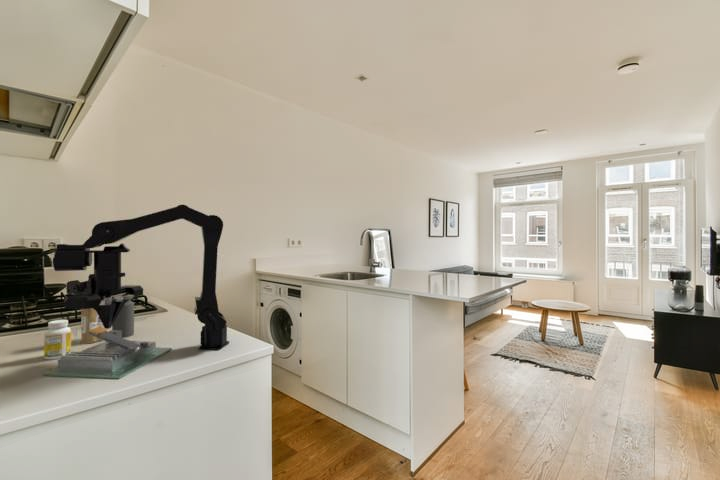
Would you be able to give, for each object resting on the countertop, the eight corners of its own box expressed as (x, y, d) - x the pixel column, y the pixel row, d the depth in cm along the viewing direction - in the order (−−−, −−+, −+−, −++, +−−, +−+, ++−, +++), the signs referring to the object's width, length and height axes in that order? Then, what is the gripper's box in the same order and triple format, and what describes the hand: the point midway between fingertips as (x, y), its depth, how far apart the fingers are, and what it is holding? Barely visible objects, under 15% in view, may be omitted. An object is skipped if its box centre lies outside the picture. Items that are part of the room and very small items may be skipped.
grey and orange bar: (143, 349, 87) (144, 345, 87) (134, 353, 83) (135, 349, 83) (98, 330, 87) (100, 326, 87) (88, 334, 84) (89, 330, 84)
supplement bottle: (51, 361, 85) (51, 325, 85) (39, 358, 87) (39, 322, 87) (75, 354, 90) (75, 320, 90) (63, 351, 92) (64, 318, 92)
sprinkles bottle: (98, 342, 100) (98, 299, 100) (79, 345, 98) (79, 300, 97) (100, 338, 104) (100, 296, 104) (81, 340, 101) (82, 298, 101)
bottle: (108, 336, 106) (108, 291, 106) (126, 331, 111) (126, 288, 111) (119, 339, 104) (119, 292, 103) (138, 334, 109) (138, 289, 109)
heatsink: (171, 350, 94) (171, 334, 94) (119, 378, 75) (119, 359, 75) (110, 347, 96) (110, 332, 96) (43, 375, 77) (43, 356, 77)
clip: (121, 340, 93) (121, 330, 93) (106, 346, 88) (106, 335, 88) (111, 339, 93) (111, 330, 93) (96, 345, 88) (96, 335, 88)
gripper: (108, 265, 95) (108, 318, 95) (42, 273, 77) (42, 338, 77) (144, 266, 94) (144, 319, 95) (86, 274, 76) (86, 340, 76)
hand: (107, 328), depth 86 cm, fingers closed
